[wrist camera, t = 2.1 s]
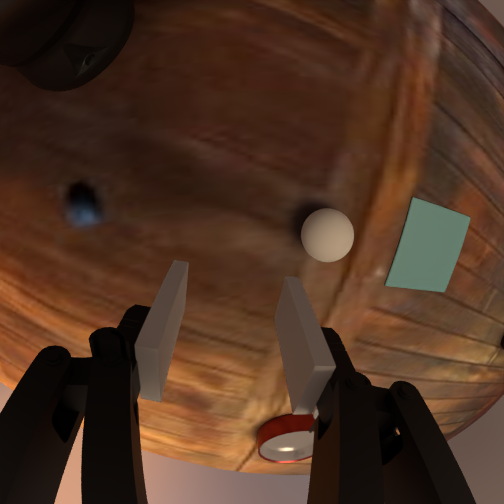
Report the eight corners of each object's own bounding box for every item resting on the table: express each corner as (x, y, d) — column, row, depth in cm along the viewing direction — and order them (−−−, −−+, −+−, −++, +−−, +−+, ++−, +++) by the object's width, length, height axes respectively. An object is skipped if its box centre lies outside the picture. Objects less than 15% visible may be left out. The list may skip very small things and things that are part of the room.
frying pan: (394, 426, 50) (403, 446, 44) (356, 454, 54) (363, 474, 48) (281, 405, 42) (286, 435, 37) (244, 439, 46) (245, 465, 40)
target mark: (412, 196, 30) (412, 197, 30) (469, 217, 31) (470, 217, 31) (384, 284, 34) (385, 285, 34) (443, 291, 36) (444, 292, 36)
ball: (302, 198, 30) (315, 211, 25) (348, 208, 30) (368, 221, 25) (291, 246, 32) (301, 267, 27) (336, 253, 32) (352, 274, 27)
